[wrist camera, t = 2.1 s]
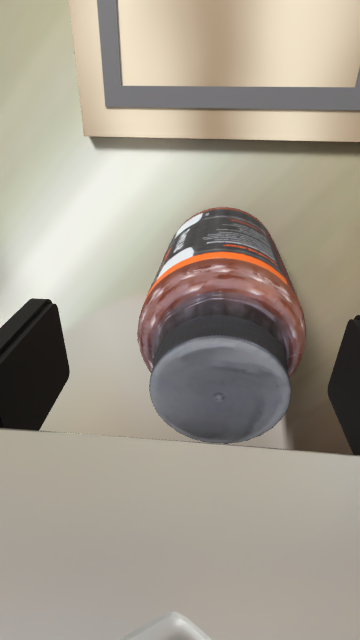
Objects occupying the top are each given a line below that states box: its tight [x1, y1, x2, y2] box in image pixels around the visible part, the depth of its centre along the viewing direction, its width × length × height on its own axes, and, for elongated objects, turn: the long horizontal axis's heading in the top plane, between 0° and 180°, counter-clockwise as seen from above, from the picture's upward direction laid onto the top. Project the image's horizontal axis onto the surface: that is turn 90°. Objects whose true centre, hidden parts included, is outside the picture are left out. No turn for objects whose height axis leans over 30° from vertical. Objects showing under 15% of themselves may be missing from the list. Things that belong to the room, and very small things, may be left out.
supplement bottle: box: [137, 207, 306, 444], centre depth 14 cm, size 6×6×11 cm
